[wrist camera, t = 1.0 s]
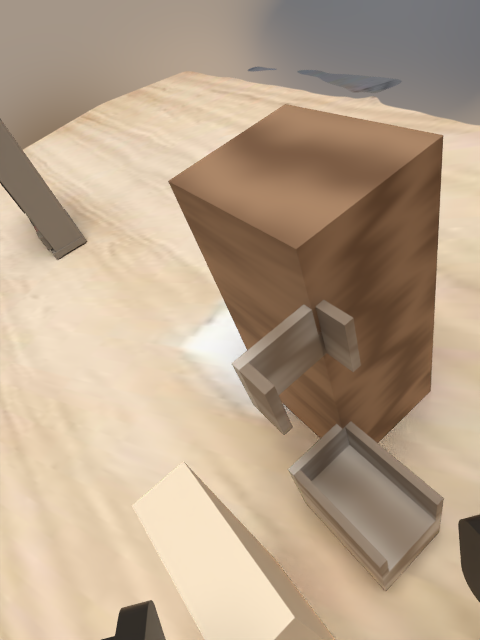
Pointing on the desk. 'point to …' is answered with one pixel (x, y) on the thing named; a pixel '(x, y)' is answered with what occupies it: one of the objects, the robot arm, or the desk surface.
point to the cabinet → (332, 305)
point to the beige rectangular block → (222, 566)
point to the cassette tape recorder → (36, 198)
